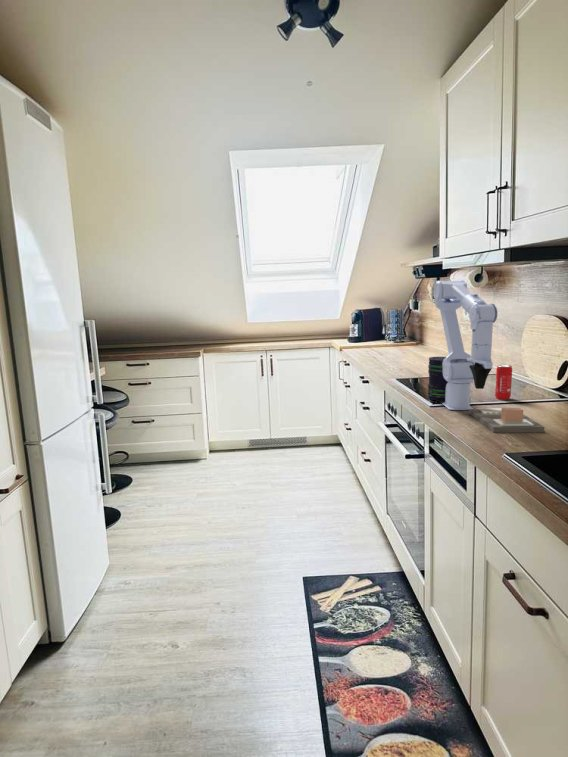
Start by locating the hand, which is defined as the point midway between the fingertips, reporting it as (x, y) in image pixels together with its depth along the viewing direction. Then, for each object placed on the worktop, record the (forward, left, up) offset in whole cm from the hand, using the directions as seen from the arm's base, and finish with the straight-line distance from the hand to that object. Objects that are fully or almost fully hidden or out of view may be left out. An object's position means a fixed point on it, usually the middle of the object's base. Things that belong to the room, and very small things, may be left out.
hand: (479, 388), depth 158 cm
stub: (+12, +6, -8) cm, 15 cm away
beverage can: (-28, +18, -10) cm, 35 cm away
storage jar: (-28, -4, -10) cm, 30 cm away
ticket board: (+5, +6, -9) cm, 12 cm away
